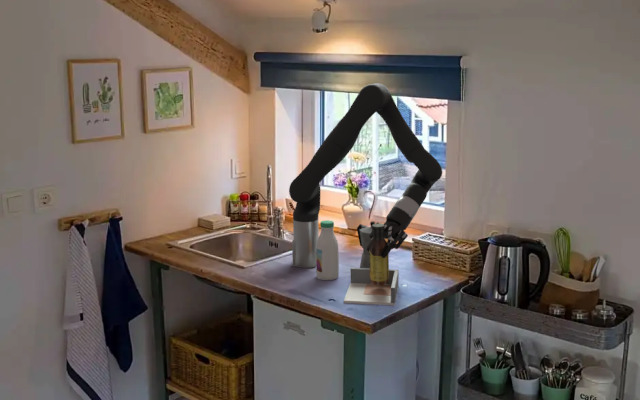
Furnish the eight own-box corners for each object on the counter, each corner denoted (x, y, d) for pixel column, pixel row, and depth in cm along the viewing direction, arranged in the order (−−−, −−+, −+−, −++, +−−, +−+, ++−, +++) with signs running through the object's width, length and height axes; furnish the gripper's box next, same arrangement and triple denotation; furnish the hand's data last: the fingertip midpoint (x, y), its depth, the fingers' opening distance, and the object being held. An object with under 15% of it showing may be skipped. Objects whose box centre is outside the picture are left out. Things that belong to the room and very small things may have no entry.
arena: (343, 303, 231) (343, 285, 230) (351, 283, 248) (351, 267, 247) (394, 305, 228) (394, 287, 227) (398, 286, 245) (398, 269, 244)
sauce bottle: (376, 278, 243) (375, 221, 239) (392, 282, 240) (392, 223, 236) (365, 284, 238) (365, 225, 234) (382, 287, 235) (382, 228, 230)
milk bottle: (340, 274, 258) (340, 219, 254) (336, 281, 251) (335, 225, 246) (319, 272, 260) (318, 218, 255) (314, 280, 253) (313, 224, 248)
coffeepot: (394, 272, 259) (394, 223, 255) (373, 278, 254) (373, 227, 250) (368, 262, 271) (368, 215, 267) (347, 266, 266) (347, 218, 262)
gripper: (382, 202, 243) (354, 242, 239) (411, 210, 232) (383, 253, 228) (394, 215, 248) (367, 255, 244) (424, 223, 236) (396, 265, 232)
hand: (375, 254), depth 236 cm, fingers closed on sauce bottle, 6 cm apart
